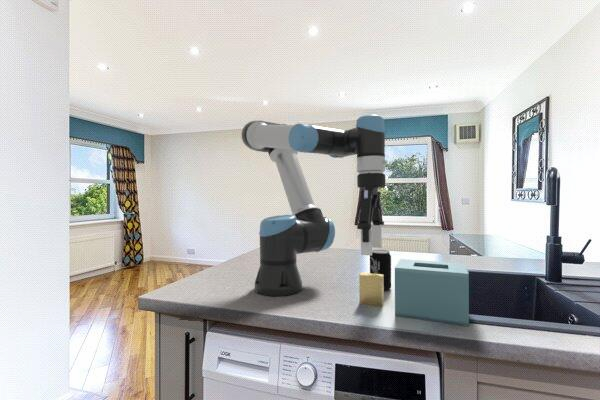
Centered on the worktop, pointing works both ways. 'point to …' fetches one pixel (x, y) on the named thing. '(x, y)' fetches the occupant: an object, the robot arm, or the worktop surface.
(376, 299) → the beige rectangular block
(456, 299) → the coin box
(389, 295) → the worktop surface
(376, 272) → the beverage can
